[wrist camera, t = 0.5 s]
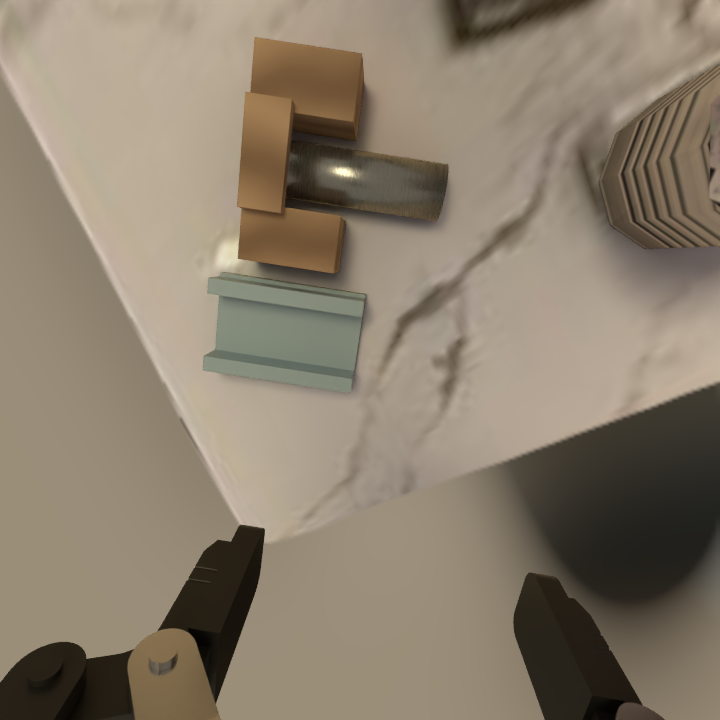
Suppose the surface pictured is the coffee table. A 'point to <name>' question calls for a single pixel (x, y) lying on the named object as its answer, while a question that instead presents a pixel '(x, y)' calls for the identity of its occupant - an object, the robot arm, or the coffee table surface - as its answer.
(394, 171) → the axle
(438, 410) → the coffee table surface
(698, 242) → the can
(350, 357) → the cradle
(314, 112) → the brown h-shaped block
